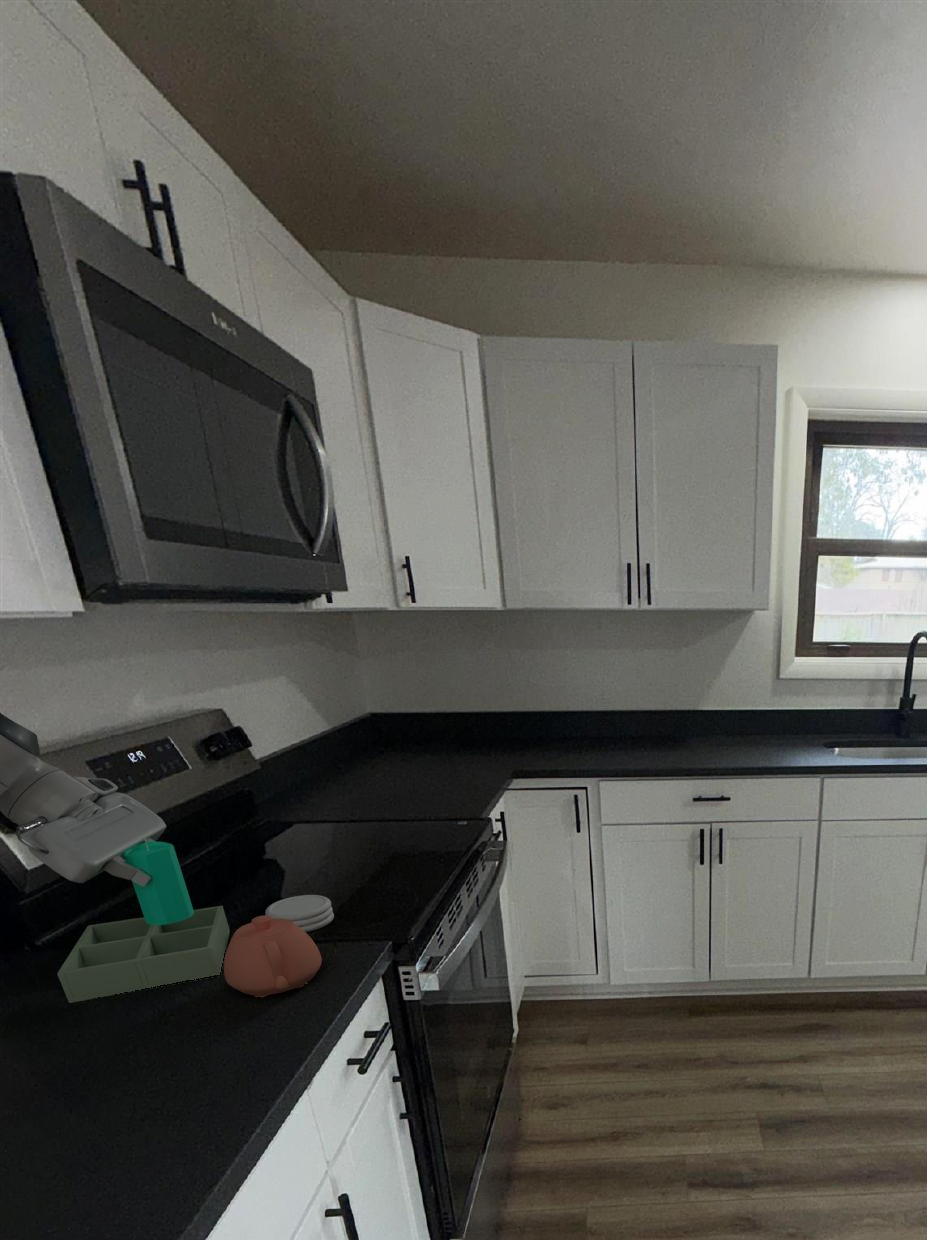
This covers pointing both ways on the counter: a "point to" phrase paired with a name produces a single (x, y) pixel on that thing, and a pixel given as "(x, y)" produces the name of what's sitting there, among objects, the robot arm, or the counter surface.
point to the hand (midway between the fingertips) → (160, 874)
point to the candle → (160, 883)
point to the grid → (144, 955)
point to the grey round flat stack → (303, 911)
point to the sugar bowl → (270, 957)
